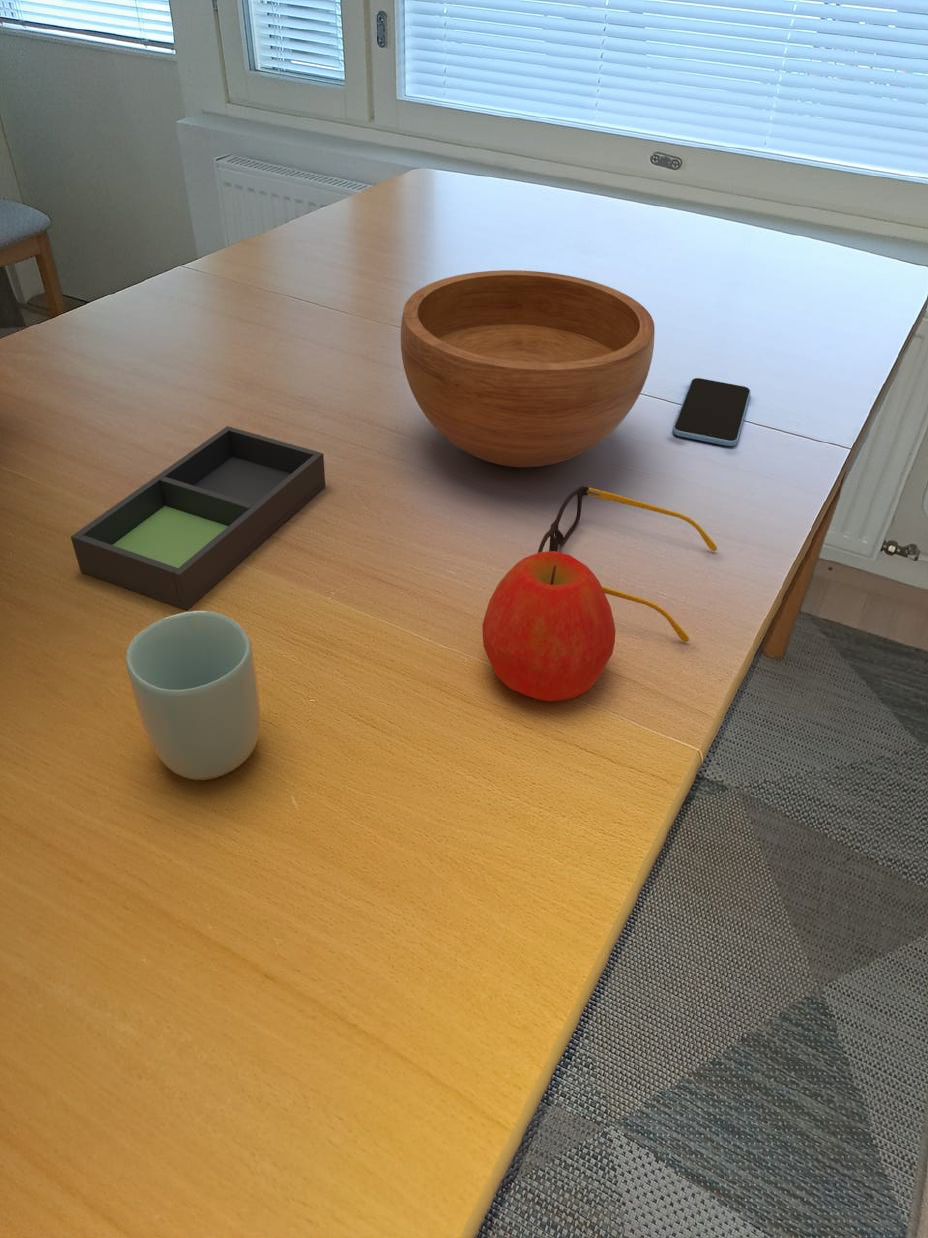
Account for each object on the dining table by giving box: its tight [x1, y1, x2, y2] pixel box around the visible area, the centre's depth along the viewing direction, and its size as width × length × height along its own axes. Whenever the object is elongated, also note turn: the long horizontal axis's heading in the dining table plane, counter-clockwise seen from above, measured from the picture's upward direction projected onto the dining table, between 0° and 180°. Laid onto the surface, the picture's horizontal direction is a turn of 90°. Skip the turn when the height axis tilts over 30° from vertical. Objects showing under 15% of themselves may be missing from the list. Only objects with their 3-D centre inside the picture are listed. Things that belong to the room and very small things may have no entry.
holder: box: [70, 425, 327, 611], centre depth 85 cm, size 11×22×4 cm, turn 155°
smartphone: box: [672, 377, 752, 447], centre depth 107 cm, size 7×1×15 cm
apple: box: [481, 551, 616, 703], centre depth 69 cm, size 10×10×10 cm
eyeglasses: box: [537, 485, 718, 643], centre depth 81 cm, size 14×14×4 cm
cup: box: [125, 610, 262, 781], centre depth 61 cm, size 8×8×10 cm
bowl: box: [400, 269, 656, 468], centre depth 94 cm, size 25×25×15 cm
